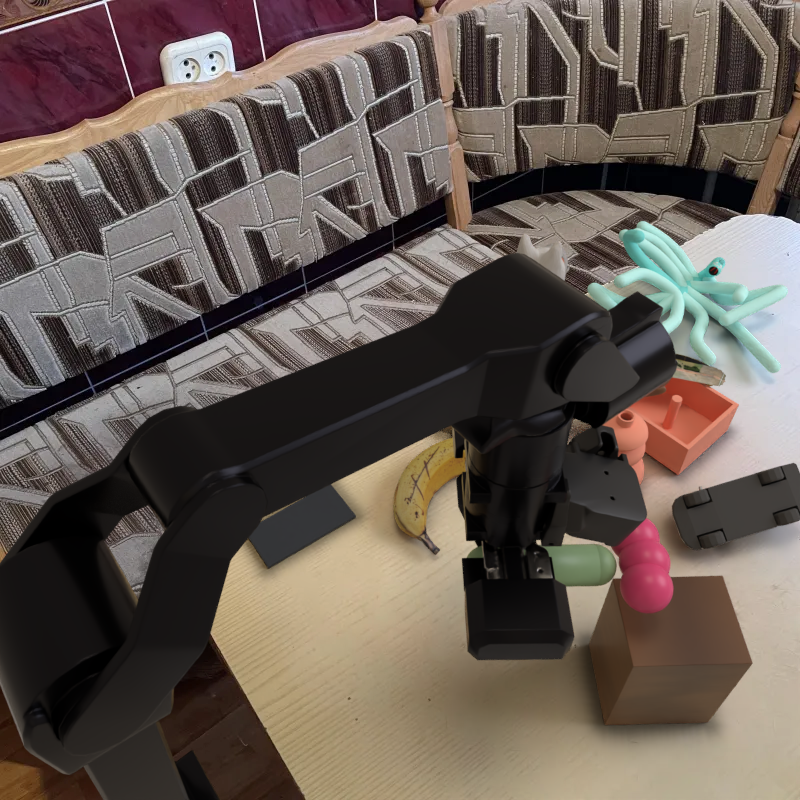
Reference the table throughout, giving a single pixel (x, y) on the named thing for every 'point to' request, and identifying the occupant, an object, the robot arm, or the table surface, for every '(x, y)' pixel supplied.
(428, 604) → the table surface
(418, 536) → the fruit
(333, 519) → the placemat
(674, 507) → the toy car
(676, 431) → the pottery
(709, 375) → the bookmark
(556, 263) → the toy
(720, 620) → the block
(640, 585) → the green pink knobbed rod
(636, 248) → the tentacled creature figurine
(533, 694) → the table surface
